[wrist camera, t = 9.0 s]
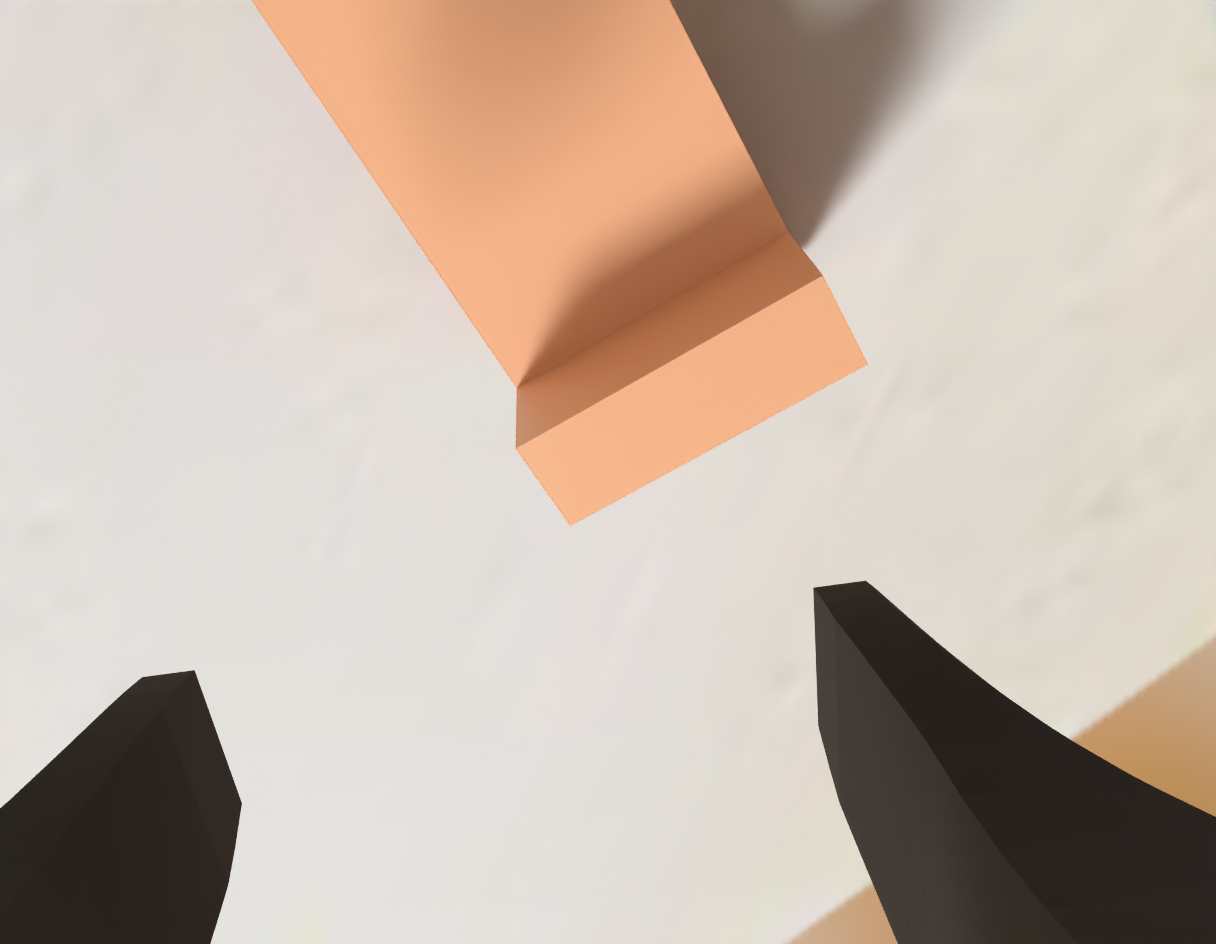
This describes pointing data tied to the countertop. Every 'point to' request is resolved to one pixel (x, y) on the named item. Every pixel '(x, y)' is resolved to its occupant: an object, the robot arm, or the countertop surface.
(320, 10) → the peach l-shaped bracket
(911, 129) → the countertop surface
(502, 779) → the countertop surface
